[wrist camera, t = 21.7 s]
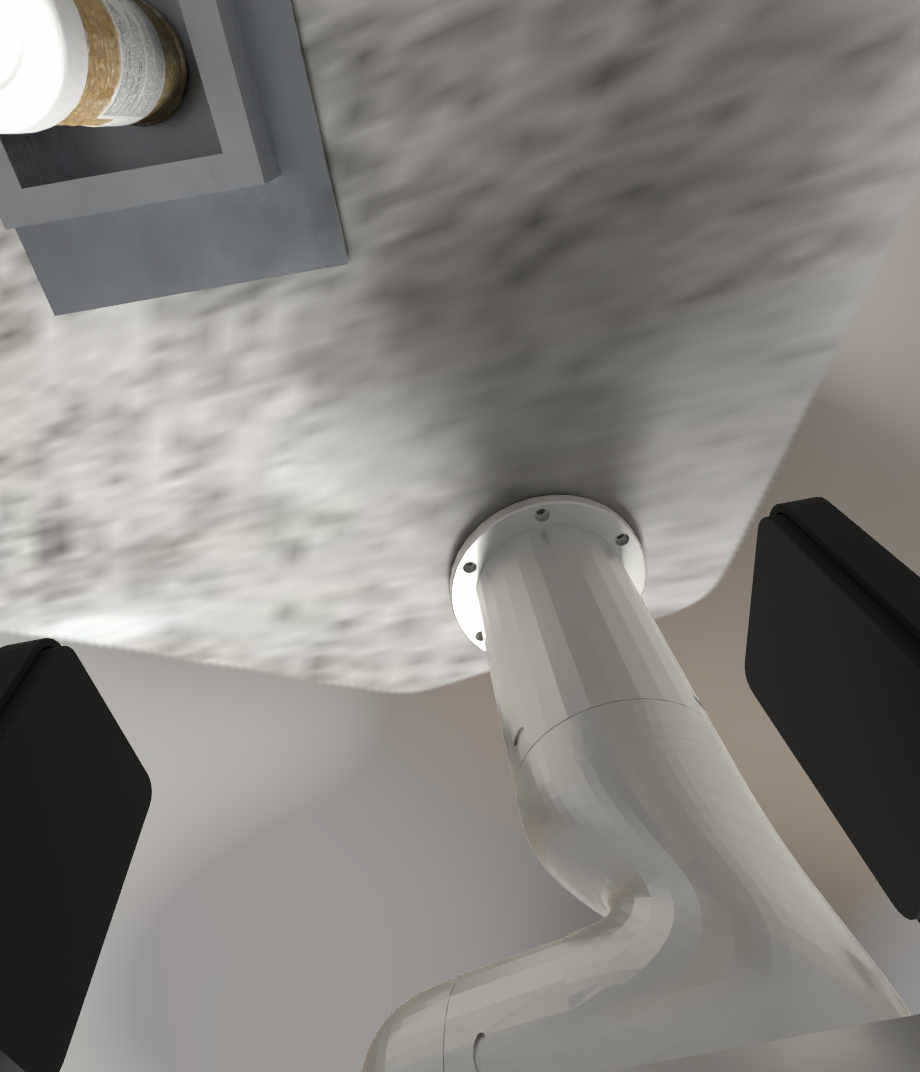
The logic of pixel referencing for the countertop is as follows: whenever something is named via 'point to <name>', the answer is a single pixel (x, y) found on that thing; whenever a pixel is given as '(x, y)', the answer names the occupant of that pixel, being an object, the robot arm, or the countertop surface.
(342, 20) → the countertop surface
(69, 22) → the sprinkles bottle
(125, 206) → the dock
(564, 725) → the robot arm
